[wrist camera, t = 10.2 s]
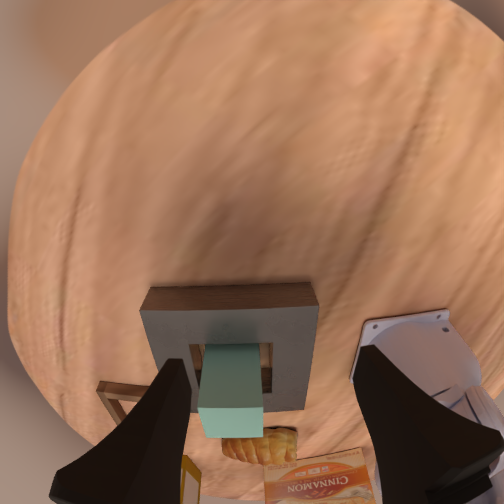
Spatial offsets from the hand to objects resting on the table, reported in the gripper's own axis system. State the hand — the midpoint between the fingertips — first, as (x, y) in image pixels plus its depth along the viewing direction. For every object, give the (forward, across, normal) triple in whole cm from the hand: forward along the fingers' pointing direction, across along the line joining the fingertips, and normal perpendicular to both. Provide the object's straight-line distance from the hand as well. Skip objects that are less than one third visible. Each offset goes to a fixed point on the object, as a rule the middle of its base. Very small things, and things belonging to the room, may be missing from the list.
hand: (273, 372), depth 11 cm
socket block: (+10, +2, +8) cm, 13 cm away
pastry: (+11, 0, +26) cm, 28 cm away
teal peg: (+10, +2, +8) cm, 13 cm away
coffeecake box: (+11, -7, +36) cm, 38 cm away
